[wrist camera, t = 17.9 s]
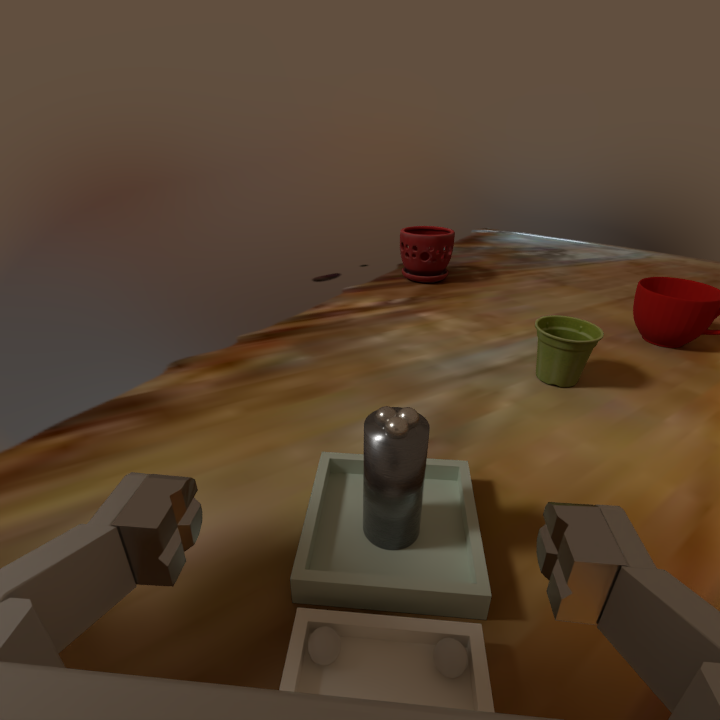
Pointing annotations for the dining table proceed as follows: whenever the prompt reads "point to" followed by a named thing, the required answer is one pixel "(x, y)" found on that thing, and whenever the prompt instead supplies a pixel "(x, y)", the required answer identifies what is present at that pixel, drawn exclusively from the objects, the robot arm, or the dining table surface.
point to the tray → (388, 659)
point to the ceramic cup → (674, 310)
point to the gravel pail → (394, 476)
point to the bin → (392, 567)
